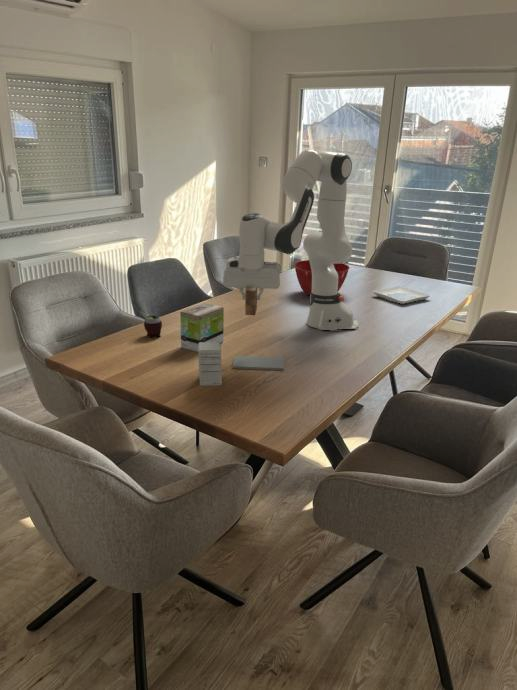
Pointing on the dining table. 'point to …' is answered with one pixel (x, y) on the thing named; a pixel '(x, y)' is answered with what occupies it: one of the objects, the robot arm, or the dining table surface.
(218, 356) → the supplement box
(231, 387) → the dining table surface
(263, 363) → the mat
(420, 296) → the salad plate
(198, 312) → the tea box
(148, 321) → the mate gourd
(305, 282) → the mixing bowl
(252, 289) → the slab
